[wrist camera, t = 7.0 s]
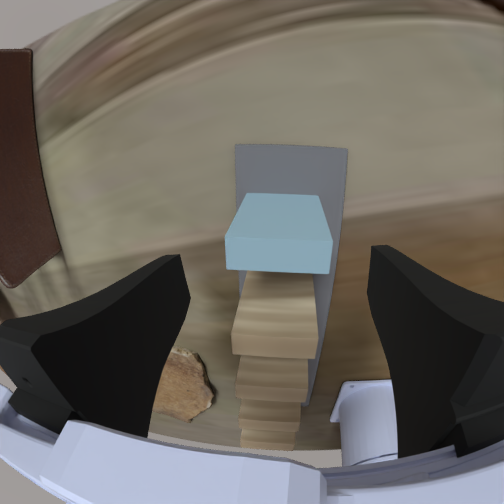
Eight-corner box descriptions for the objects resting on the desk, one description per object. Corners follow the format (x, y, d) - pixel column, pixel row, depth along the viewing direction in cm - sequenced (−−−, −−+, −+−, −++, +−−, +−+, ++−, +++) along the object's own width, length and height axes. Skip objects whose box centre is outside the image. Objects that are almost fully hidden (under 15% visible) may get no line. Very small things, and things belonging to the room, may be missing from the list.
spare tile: (246, 193, 19) (224, 237, 13) (318, 195, 18) (333, 241, 12) (247, 216, 20) (226, 269, 13) (316, 218, 19) (328, 274, 13)
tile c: (249, 353, 25) (238, 418, 19) (300, 356, 25) (300, 422, 19) (250, 365, 26) (239, 427, 20) (299, 368, 26) (297, 431, 19)
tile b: (249, 316, 23) (235, 384, 17) (306, 319, 23) (308, 388, 17) (249, 330, 24) (236, 398, 18) (304, 333, 24) (305, 402, 17)
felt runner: (346, 148, 17) (347, 149, 17) (308, 403, 29) (308, 406, 28) (236, 144, 18) (235, 144, 17) (245, 399, 30) (244, 402, 29)
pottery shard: (136, 397, 34) (131, 406, 32) (168, 332, 27) (162, 345, 25) (188, 421, 35) (185, 431, 33) (240, 367, 28) (237, 381, 26)
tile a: (248, 267, 21) (230, 333, 15) (312, 270, 21) (318, 338, 15) (248, 286, 22) (232, 354, 16) (310, 289, 22) (314, 358, 15)
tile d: (250, 380, 27) (240, 440, 21) (296, 383, 27) (294, 444, 21) (250, 389, 28) (241, 447, 22) (295, 392, 27) (292, 450, 21)
